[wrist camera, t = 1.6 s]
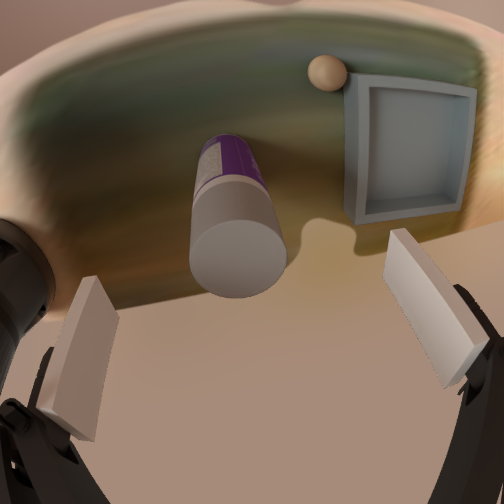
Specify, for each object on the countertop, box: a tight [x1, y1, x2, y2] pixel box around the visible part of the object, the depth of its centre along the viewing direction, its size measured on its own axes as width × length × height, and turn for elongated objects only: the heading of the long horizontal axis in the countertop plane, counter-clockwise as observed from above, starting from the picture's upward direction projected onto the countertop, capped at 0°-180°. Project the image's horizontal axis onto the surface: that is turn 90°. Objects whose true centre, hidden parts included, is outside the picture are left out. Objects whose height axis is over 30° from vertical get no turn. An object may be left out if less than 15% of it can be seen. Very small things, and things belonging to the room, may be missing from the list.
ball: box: [307, 55, 347, 92], centre depth 21 cm, size 3×3×3 cm
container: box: [189, 134, 287, 298], centre depth 20 cm, size 5×5×15 cm
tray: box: [343, 72, 477, 225], centre depth 25 cm, size 14×14×3 cm
